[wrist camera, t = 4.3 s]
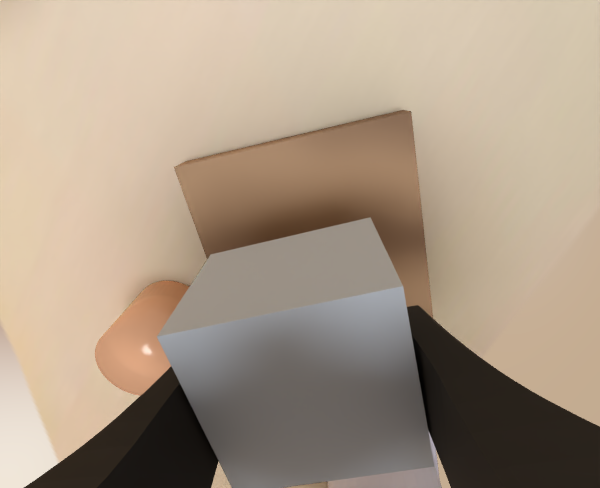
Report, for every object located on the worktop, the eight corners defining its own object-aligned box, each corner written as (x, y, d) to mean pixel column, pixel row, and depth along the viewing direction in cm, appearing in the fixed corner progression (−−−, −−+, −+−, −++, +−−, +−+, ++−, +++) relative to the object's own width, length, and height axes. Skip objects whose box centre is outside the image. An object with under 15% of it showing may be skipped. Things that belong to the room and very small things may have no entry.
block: (396, 352, 13) (434, 466, 9) (258, 377, 14) (235, 494, 10) (370, 217, 11) (403, 286, 7) (210, 254, 12) (156, 336, 8)
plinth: (425, 305, 21) (433, 321, 19) (246, 335, 22) (241, 352, 21) (402, 110, 17) (410, 111, 15) (185, 161, 18) (173, 167, 17)
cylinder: (217, 335, 22) (195, 389, 18) (153, 345, 23) (117, 401, 19) (194, 274, 21) (163, 318, 17) (125, 287, 21) (79, 334, 17)
